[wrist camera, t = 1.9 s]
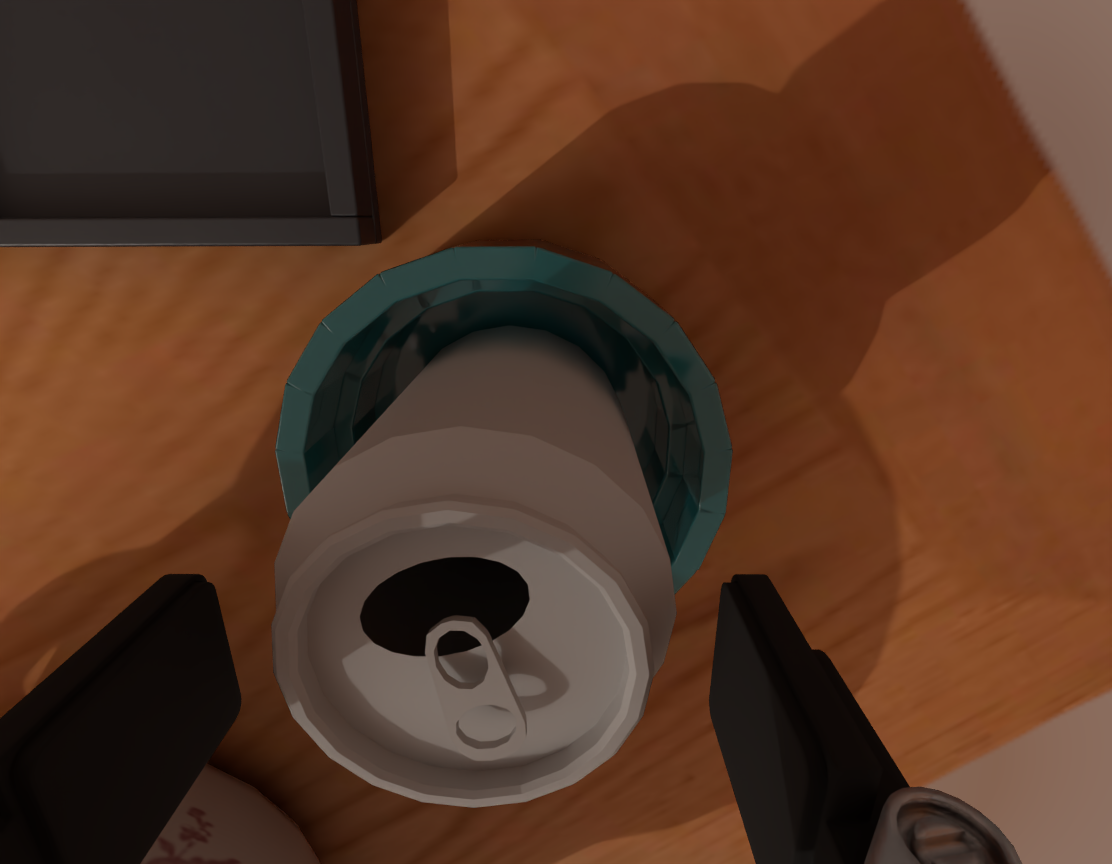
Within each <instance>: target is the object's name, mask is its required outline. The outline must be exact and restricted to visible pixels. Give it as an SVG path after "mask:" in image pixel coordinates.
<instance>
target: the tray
mask: <svg viewBox="0 0 1112 864" xmlns="http://www.w3.org/2000/svg"><path fill="white" fill-rule="evenodd" d="M381 242H382V239H381V230H380V220H379V211H378V201H377V192H376V182H375V173H374V163H373V153H372V144H371V134H370V125H369V115H368V106H367V96H366V87H365V77H364V68H363V58H362V49H361V39H360V30H359V20H358V11H357V1H356V0H0V247H137V246H360V245H367V244H376V243H381Z"/></svg>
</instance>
